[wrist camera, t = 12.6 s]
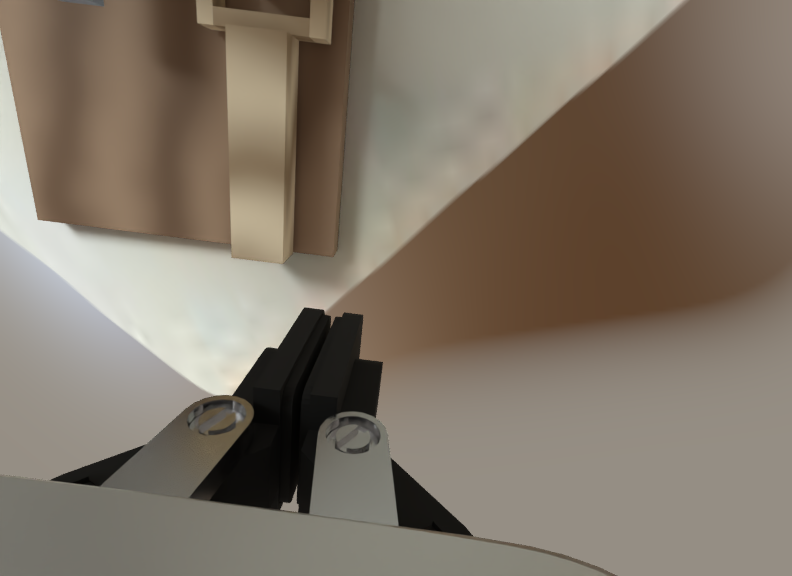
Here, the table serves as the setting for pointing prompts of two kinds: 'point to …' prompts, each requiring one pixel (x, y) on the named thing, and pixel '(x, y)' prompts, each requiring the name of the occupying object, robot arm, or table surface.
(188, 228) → the base plate
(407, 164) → the table surface
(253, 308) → the table surface
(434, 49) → the table surface
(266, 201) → the link
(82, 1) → the bracket
